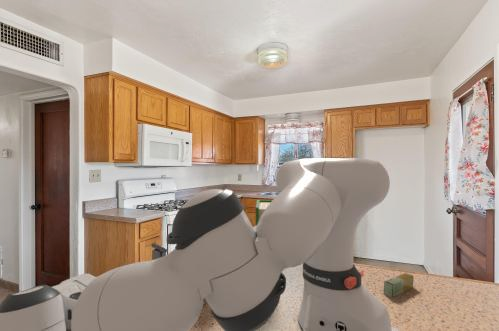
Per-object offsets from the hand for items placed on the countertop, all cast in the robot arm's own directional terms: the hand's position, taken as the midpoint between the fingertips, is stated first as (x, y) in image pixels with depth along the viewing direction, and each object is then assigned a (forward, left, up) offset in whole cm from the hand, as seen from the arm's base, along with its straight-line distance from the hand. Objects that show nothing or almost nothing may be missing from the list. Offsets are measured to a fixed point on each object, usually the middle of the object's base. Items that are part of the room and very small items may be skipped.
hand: (123, 281), depth 71 cm
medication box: (-49, -61, -7) cm, 79 cm away
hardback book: (-12, -44, -7) cm, 46 cm away
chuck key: (+2, -11, -6) cm, 13 cm away
